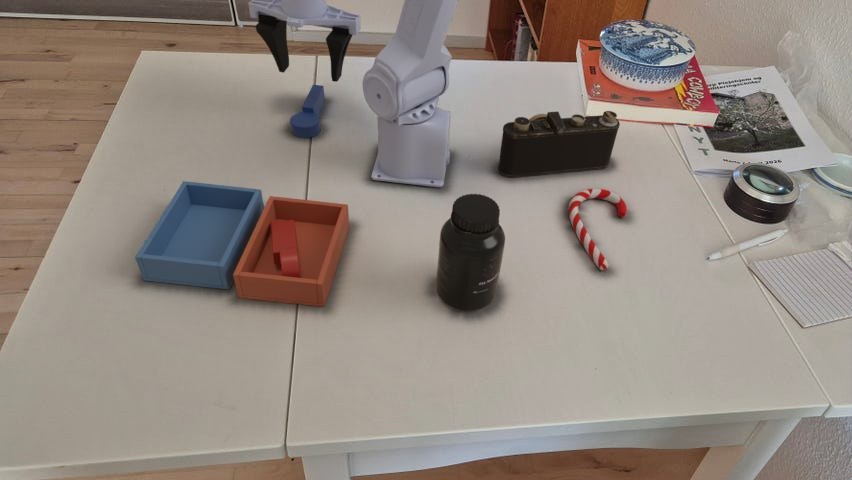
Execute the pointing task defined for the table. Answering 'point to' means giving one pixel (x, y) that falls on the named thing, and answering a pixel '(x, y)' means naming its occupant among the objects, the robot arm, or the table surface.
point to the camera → (557, 144)
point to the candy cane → (579, 226)
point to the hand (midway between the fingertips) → (310, 73)
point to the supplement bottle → (470, 253)
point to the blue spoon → (309, 114)
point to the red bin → (317, 252)
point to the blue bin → (201, 235)
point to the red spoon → (285, 247)
